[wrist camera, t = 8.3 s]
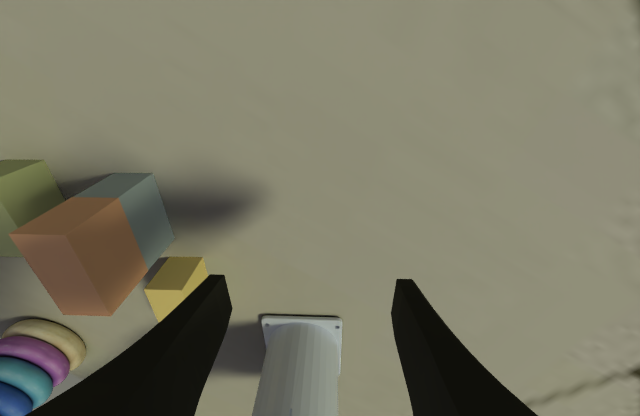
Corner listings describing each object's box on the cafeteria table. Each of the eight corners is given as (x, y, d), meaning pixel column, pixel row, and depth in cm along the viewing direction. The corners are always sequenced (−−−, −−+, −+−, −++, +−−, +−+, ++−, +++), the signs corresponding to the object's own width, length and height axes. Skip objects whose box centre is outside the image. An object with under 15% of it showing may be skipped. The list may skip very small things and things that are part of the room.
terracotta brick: (148, 270, 21) (110, 316, 17) (108, 269, 21) (63, 314, 17) (118, 197, 18) (65, 235, 14) (72, 196, 18) (8, 233, 14)
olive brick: (80, 226, 24) (37, 257, 21) (46, 226, 24) (-2, 256, 21) (45, 159, 21) (-13, 182, 18) (7, 159, 21) (-58, 181, 18)
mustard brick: (216, 303, 28) (199, 340, 25) (187, 303, 28) (166, 339, 25) (203, 256, 25) (182, 290, 22) (170, 255, 25) (143, 289, 22)
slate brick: (174, 238, 24) (147, 271, 21) (140, 237, 24) (108, 270, 21) (153, 173, 21) (116, 198, 18) (114, 172, 21) (70, 197, 18)
